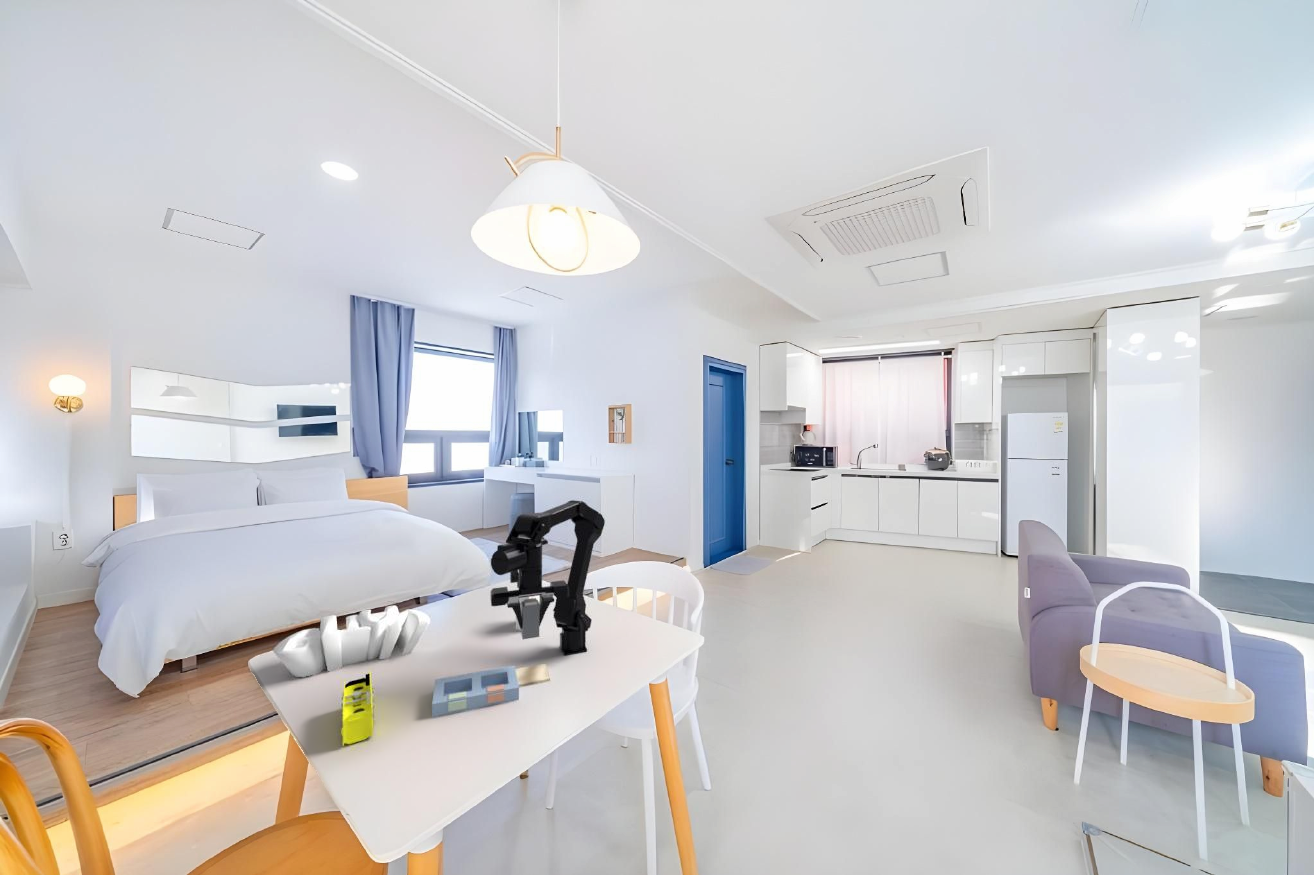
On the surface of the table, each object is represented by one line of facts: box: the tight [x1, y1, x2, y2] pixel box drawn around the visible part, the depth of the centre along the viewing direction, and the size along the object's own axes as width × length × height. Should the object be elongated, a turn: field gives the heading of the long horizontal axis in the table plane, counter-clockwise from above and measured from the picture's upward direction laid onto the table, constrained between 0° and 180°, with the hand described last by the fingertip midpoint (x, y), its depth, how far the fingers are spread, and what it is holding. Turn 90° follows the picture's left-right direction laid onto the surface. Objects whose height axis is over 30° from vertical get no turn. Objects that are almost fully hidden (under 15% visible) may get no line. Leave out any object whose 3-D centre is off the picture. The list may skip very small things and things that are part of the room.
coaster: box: [515, 663, 551, 688], centre depth 116 cm, size 8×8×1 cm
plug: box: [520, 598, 540, 640], centre depth 116 cm, size 4×4×9 cm
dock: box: [431, 665, 520, 719], centre depth 107 cm, size 18×11×3 cm, turn 112°
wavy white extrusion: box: [272, 605, 431, 678], centre depth 126 cm, size 35×16×11 cm, turn 119°
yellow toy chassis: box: [340, 669, 375, 747], centre depth 97 cm, size 16×6×8 cm, turn 34°
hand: (530, 626), depth 116 cm, fingers closed on plug, 4 cm apart
